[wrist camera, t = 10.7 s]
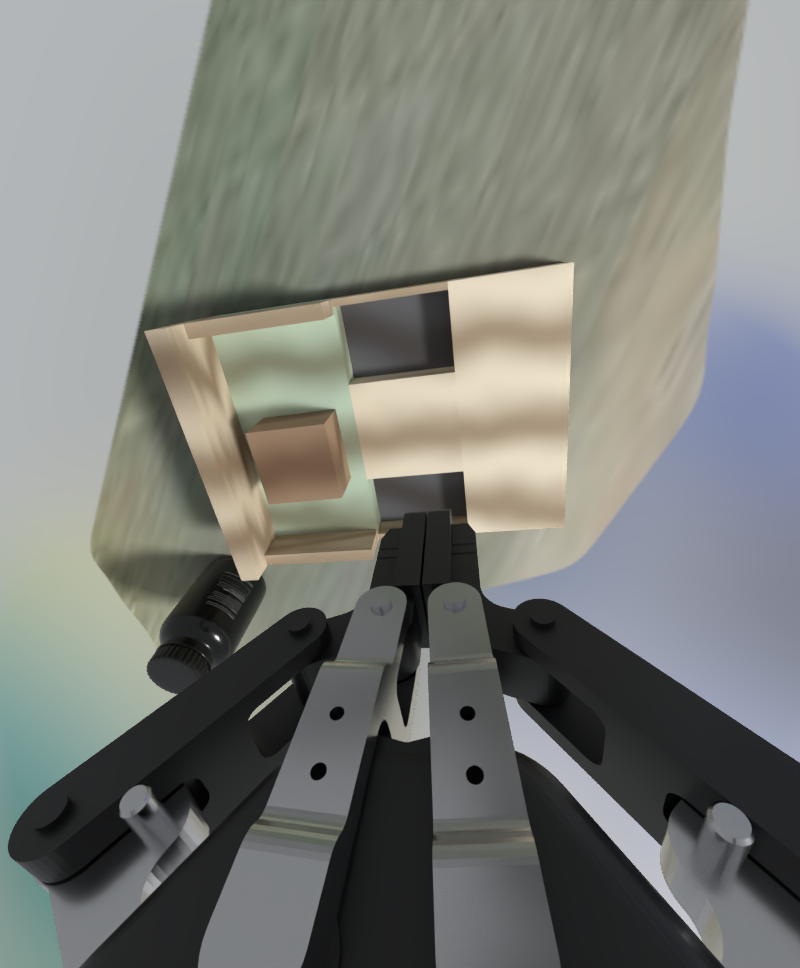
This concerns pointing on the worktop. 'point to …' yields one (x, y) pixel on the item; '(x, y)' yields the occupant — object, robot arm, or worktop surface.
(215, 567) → the supplement bottle
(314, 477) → the walnut block
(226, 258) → the worktop surface
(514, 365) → the box
